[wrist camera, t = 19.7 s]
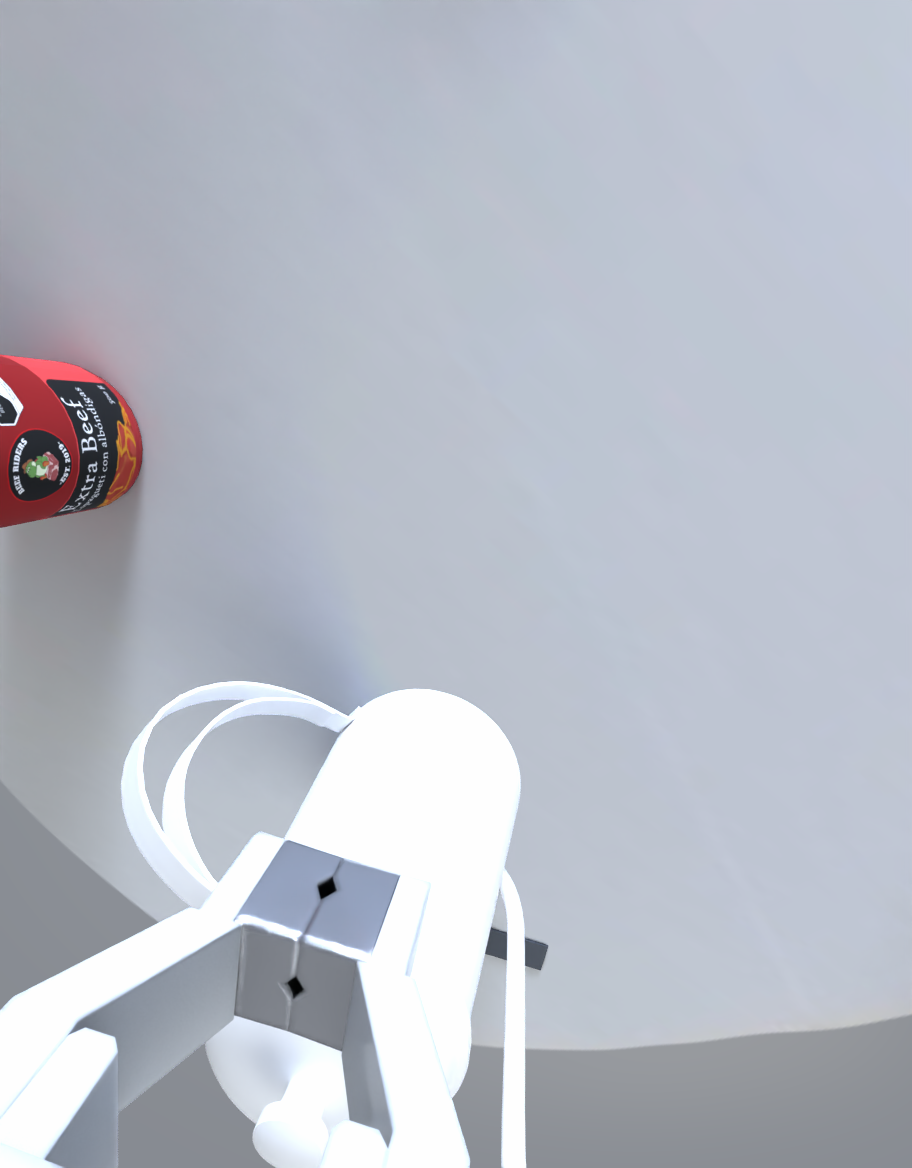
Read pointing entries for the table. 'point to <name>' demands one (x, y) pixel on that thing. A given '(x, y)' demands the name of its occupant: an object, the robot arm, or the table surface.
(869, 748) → the table surface
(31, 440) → the canned food
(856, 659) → the table surface
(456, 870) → the coffeepot
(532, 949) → the tape line
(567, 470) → the table surface
